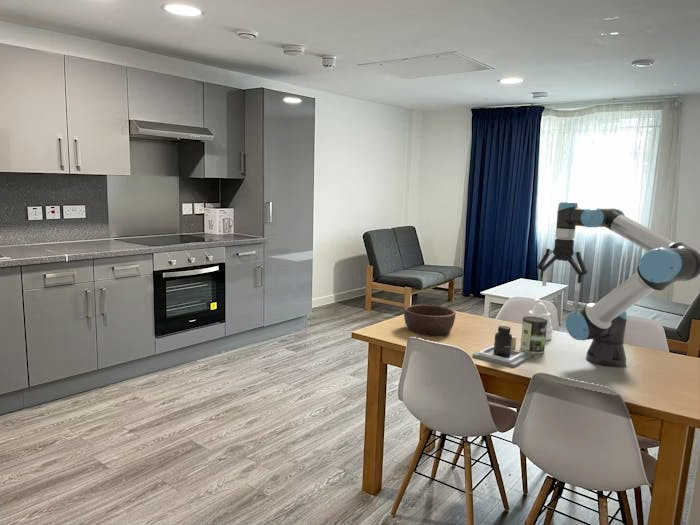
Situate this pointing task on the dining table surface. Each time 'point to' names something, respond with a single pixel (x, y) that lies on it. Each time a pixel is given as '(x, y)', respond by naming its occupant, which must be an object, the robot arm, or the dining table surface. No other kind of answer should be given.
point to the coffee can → (533, 335)
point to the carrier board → (512, 360)
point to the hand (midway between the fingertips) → (559, 288)
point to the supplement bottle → (503, 342)
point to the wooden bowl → (429, 319)
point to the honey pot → (542, 316)
